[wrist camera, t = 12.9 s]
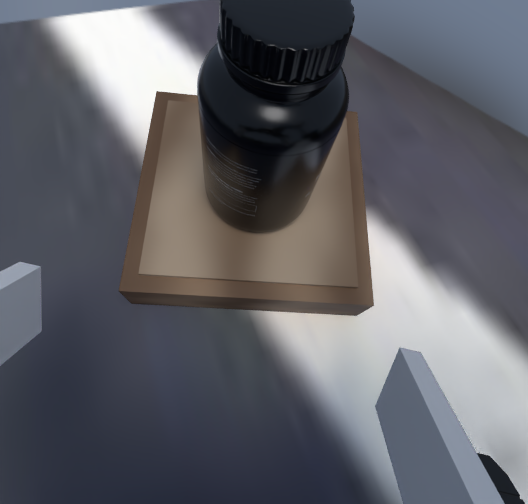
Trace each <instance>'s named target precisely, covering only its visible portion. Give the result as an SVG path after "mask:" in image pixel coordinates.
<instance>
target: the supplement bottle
mask: <svg viewBox="0 0 528 504" xmlns="http://www.w3.org/2000/svg"><path fill="white" fill-rule="evenodd" d="M353 11H354V7H353V5H352V4H351V0H220V23H219V26H218V31H217V43H216V44H215V45H214V46H213V47H212V49H211V50H210V51H209V53H208V54H207V55H206V57H205V59H204V61H203V63H202V65H201V68H200V70H199V75H198V82H197V95H198V109H199V122H200V134H201V147H202V159H203V172H204V182H205V189H206V194H207V197H208V200H209V202H210V204H211V206H212V207H213V208H214V210H215V211H216V212H217V213H218V215H219V216H220V217H222V218H223V219H224V220H225V221H227V222H228V223H230V224H231V225H233V226H235V227H238V228H240V229H244V230H248V231H253V232H267V231H273V230H277V229H280V228H282V227H285V226H287V225H288V224H290V223H291V222H293V221H294V220H295V219H296V218H297V217H298V216H299V215H300V214H301V213H302V212H303V210H304V209H305V207H306V205H307V203H308V201H309V199H310V197H311V194H312V192H313V190H314V188H315V185H316V183H317V181H318V179H319V176H320V174H321V172H322V169H323V167H324V165H325V163H326V160H327V158H328V156H329V153H330V151H331V149H332V147H333V144H334V142H335V140H336V138H337V135H338V133H339V131H340V128H341V126H342V124H343V121H344V118H345V116H346V113H347V109H348V103H349V89H348V83H347V79H346V76H345V73H344V71H343V68H342V66H341V65H342V62H343V59H344V56H345V49H346V46H347V43H348V40H349V38H350V35H351V31H352V28H353V23H354V18H355V16H354V13H353Z"/></svg>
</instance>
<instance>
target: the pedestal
mask: <svg viewBox="0 0 528 504" xmlns="http://www.w3.org/2000/svg"><path fill="white" fill-rule="evenodd" d="M119 292H120V293H121V294H122V295H123V296H124V297H125V298H126V299H127V300H128V301H129V302H130V303H132V304H151V305H169V306H188V307H206V308H225V309H243V310H262V311H280V312H299V313H317V314H336V315H354V316H357V315H359V314H360V313H362V312H364V311H365V310H367V309H369V308H370V307H372V306H374V302H373V291H372V279H371V267H370V256H369V244H368V232H367V221H366V209H365V197H364V186H363V174H362V163H361V151H360V139H359V128H358V116H357V112H350V111H347V113H346V116H345V118H344V121H343V124H342V126H341V128H340V131H339V133H338V135H337V138H336V140H335V142H334V144H333V147H332V149H331V151H330V153H329V156H328V158H327V160H326V163H325V165H324V167H323V169H322V172H321V174H320V176H319V179H318V181H317V183H316V185H315V188H314V190H313V192H312V194H311V197H310V199H309V201H308V203H307V205H306V207H305V209H304V210H303V212H302V213H301V214H300V215H299V216H298V217H297V218H296V219H295V220H294V221H293V222H291V223H290V224H288V225H287V226H285V227H282V228H280V229H277V230H273V231H267V232H253V231H248V230H244V229H240V228H238V227H235V226H233V225H231V224H230V223H228V222H227V221H225V220H224V219H223V218H222V217H220V216H219V215H218V213H217V212H216V211H215V210H214V208H213V207H212V206H211V204H210V202H209V200H208V197H207V194H206V189H205V182H204V172H203V159H202V147H201V134H200V122H199V109H198V96H197V95H187V94H177V93H168V92H158V91H157V92H156V98H155V103H154V108H153V113H152V119H151V124H150V129H149V134H148V140H147V145H146V150H145V155H144V161H143V166H142V171H141V176H140V182H139V187H138V192H137V198H136V203H135V208H134V213H133V219H132V224H131V229H130V234H129V240H128V245H127V250H126V255H125V261H124V266H123V271H122V276H121V282H120V287H119Z"/></svg>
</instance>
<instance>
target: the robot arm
mask: <svg viewBox="0 0 528 504" xmlns="http://www.w3.org/2000/svg"><path fill="white" fill-rule="evenodd" d="M41 331H42V318H41V267H40V266H36V265H32V264H27V263H23V262H18V263H17V264H15V265H13V266H11V267H9V268H7V269H5V270H3V271H1V272H0V366H1V365H2V364H3V363H4V362H5V361H7V360H8V359H9V358H10V357H11V356H13V355H14V354H15V353H16V352H17V351H19V350H20V349H21V348H22V347H23V346H25V345H26V344H27V343H28V342H29V341H31V340H32V339H33V338H34V337H35V336H37V335H38V334H39V333H40V332H41ZM375 407H376V411H377V414H378V418H379V421H380V425H381V428H382V431H383V435H384V438H385V442H386V445H387V449H388V452H389V456H390V459H391V462H392V466H393V469H394V473H395V476H396V480H397V483H398V487H399V490H400V493H401V497H402V500H403V504H525V503H524V502H523V500H522V499H520V495H519V493H518V492H517V490H516V488H515V487H514V485H513V483H512V482H511V480H510V479H509V477H508V475H507V474H506V473H505V472H504V471H503V470H502V469H501V468H500V467H499V466H498V464H497V463H496V462H495V461H494V460H493V459H492V458H491V457H490V456H488V455H483V454H479V453H476V451H475V449H474V448H473V446H472V444H471V442H470V440H469V439H468V437H467V435H466V433H465V431H464V430H463V428H462V426H461V424H460V422H459V421H458V419H457V417H456V415H455V413H454V412H453V410H452V408H451V406H450V404H449V403H448V401H447V399H446V397H445V395H444V394H443V392H442V390H441V388H440V386H439V385H438V383H437V381H436V379H435V377H434V376H433V374H432V372H431V370H430V368H429V367H428V365H427V363H426V361H425V359H424V358H423V356H422V354H421V352H417V351H413V350H408V349H404V348H399V350H398V353H397V355H396V358H395V360H394V362H393V365H392V367H391V370H390V372H389V374H388V377H387V379H386V382H385V384H384V386H383V389H382V391H381V394H380V396H379V398H378V401H377V403H376V406H375Z"/></svg>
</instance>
